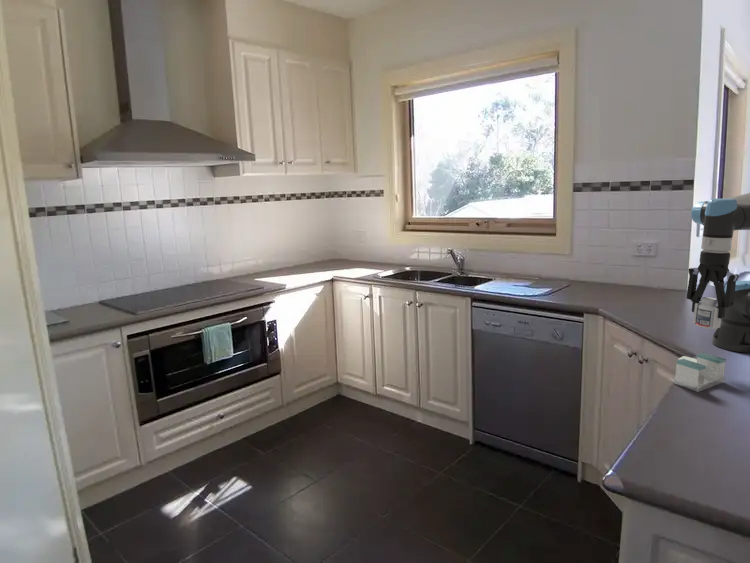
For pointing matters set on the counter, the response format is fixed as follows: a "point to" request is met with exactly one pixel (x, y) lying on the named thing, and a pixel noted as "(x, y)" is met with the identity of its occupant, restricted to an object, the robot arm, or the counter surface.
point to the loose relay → (688, 359)
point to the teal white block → (700, 372)
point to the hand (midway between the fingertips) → (706, 325)
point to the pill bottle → (706, 312)
